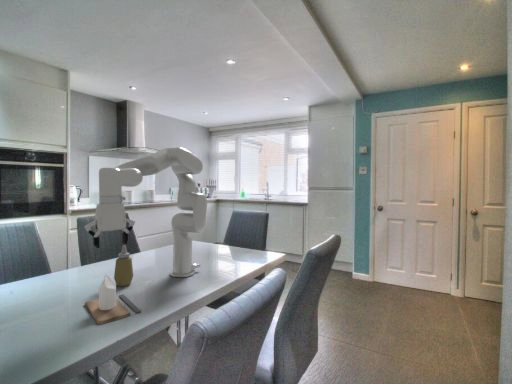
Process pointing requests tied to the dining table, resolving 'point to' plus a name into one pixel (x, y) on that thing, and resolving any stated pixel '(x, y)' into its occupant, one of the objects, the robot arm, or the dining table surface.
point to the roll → (107, 294)
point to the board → (106, 312)
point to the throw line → (130, 303)
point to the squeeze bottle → (123, 268)
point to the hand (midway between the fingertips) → (111, 245)
